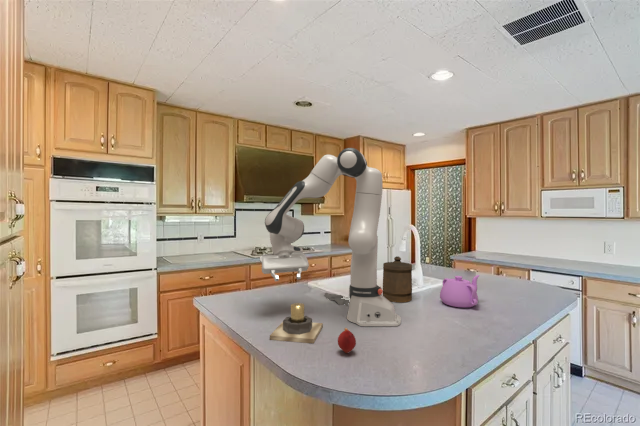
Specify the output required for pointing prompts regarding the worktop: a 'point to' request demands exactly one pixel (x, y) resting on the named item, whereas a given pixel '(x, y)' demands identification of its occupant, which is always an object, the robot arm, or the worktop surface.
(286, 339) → the jig board
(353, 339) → the onion
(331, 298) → the cloth
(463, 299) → the teapot
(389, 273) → the wooden container
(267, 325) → the worktop surface
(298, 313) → the brass cylinder peg
